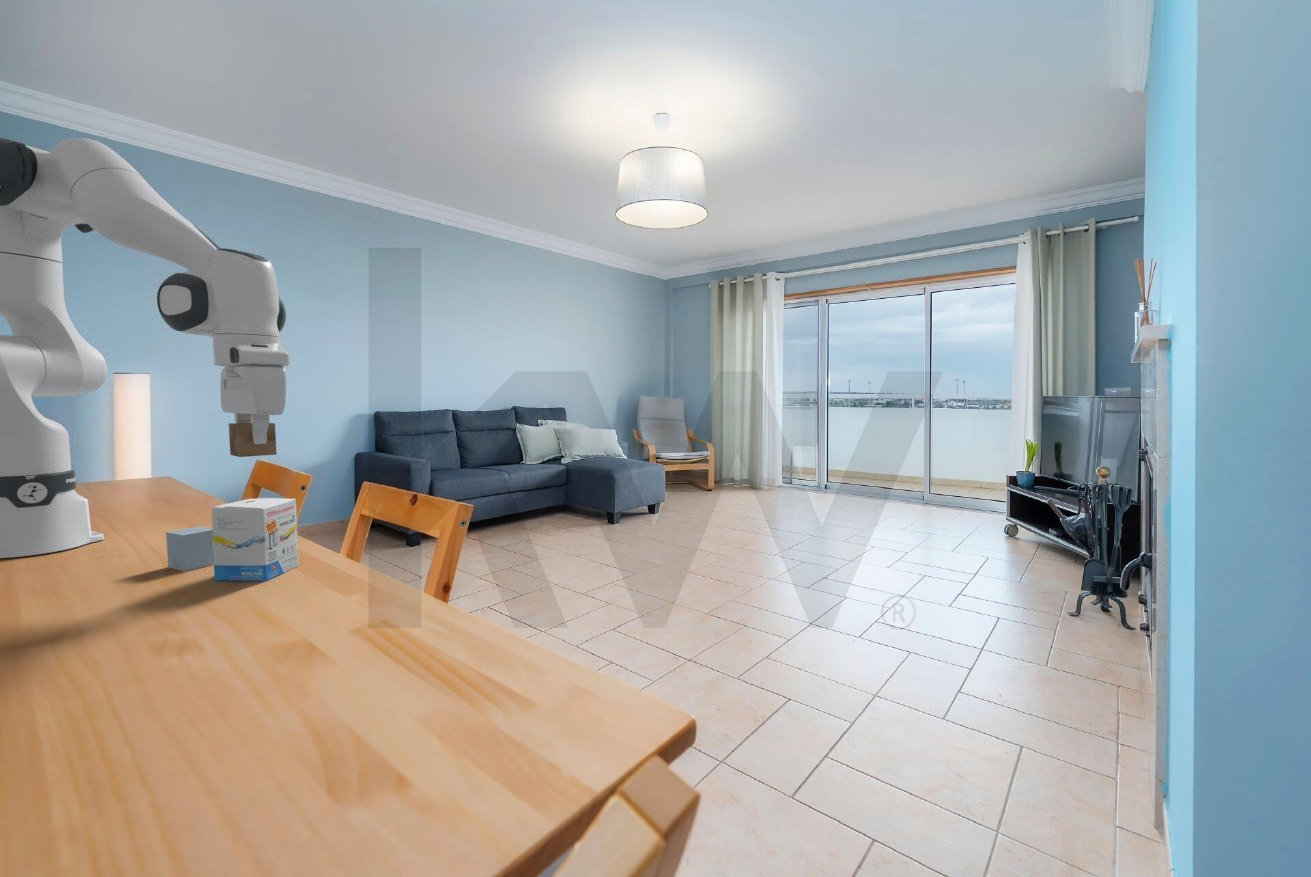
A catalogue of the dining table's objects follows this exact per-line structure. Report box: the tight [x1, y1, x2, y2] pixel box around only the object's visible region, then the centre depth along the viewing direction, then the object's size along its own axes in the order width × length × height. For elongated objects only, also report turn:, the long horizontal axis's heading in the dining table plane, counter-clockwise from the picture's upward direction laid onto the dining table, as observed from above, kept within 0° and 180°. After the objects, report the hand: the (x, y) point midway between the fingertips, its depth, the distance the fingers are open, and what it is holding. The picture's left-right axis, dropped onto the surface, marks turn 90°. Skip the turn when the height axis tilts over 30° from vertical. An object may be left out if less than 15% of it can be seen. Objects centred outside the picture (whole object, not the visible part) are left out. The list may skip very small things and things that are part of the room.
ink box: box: [211, 497, 300, 582], centre depth 96 cm, size 9×8×12 cm
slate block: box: [166, 525, 214, 572], centre depth 100 cm, size 5×5×6 cm
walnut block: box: [228, 422, 277, 458], centre depth 94 cm, size 5×5×5 cm
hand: (252, 442), depth 94 cm, fingers closed on walnut block, 5 cm apart
